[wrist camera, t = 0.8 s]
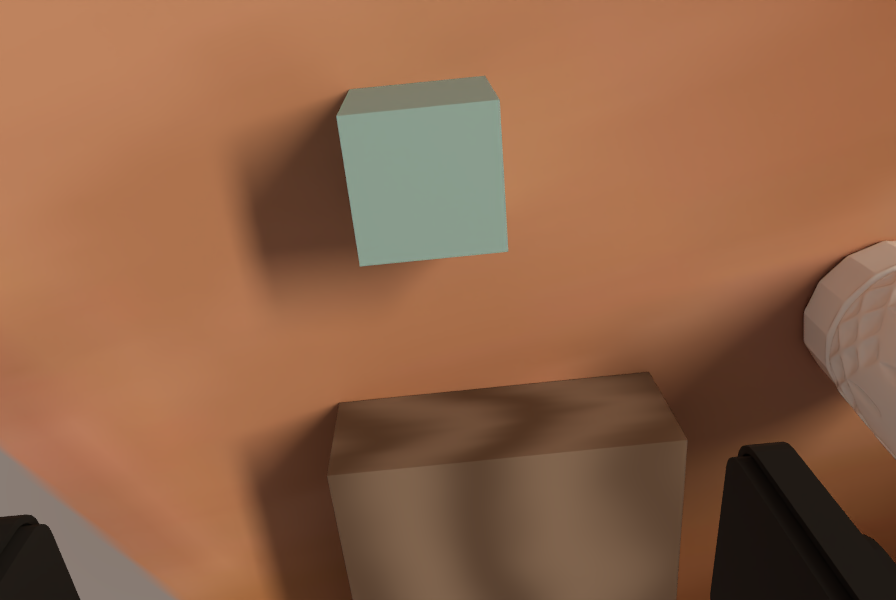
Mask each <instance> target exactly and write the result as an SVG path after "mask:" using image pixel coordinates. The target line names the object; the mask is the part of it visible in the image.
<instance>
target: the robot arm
mask: <svg viewBox="0 0 896 600" xmlns="http://www.w3.org/2000/svg"><path fill="white" fill-rule="evenodd" d="M0 600H80V598H79V596H78V593H77V591H76V589H75V586H74V584H73V581H72V579H71V577H70V574H69V572H68V570H67V567H66V565H65V563H64V560H63V558H62V555H61V553H60V551H59V548H58V546H57V544H56V541H55V539H54V536H53V534H52V532H51V530H50V528H49V527H48V526H47V525H45V524H39V523H38V521H37V519H36V518H34V517H33V516H32V515H18V516H7V517H0ZM710 600H896V564H895V563H894V561H893V560H892V559H891V558H890V556H889V555H888V554H887V553H886V551H885V550H884V549H883V548H882V547H881V546H880V545H879V544H878V543H877V542H876V541H875V540H874V539H872V538H870V537H868V536H866V535H864V534H861V532H860V531H859V530H858V529H857V527H856V526H855V525H854V524H853V522H852V521H851V520H850V519H849V517H848V516H847V515H846V514H845V512H844V511H843V510H842V509H841V507H840V506H839V505H838V504H837V502H836V501H835V500H834V499H833V497H832V496H831V495H830V494H829V492H828V491H827V490H826V489H825V487H824V486H823V485H822V484H821V482H820V481H819V480H818V479H817V477H816V476H815V475H814V474H813V472H812V471H811V470H810V469H809V467H808V466H807V465H806V464H805V462H804V461H803V460H802V458H801V457H800V456H799V455H798V453H797V452H796V451H795V450H794V448H793V447H791V446H790V445H789V444H788V443H786V442H775V443H765V444H754V445H745V446H742V447H741V449H740V450H739V453H738V457H732V458H729V460H728V462H727V466H726V474H725V482H724V490H723V498H722V505H721V513H720V521H719V529H718V537H717V545H716V553H715V561H714V569H713V577H712V585H711V593H710Z"/></svg>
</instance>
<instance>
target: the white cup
mask: <svg viewBox="0 0 896 600" xmlns="http://www.w3.org/2000/svg"><path fill="white" fill-rule="evenodd" d="M804 343H805V345H806V347H807V348H808V350H809V351H810V353H811V354H812V356H813V358H814V359H815V361H816V362H817V364H818V365H819V367H820V368H821V369H822V370H823V371H824V372H825V373H826V375H827V376H828V377H829V378H830V379H831V380H832V381H833V382H834V383H835V385H836V387H837V390H838V391H839V392H840V394H841V395H842V396H843V398H844V399H845V400H846V401H847V402H848V404H849V405H850V406H851V407H852V408H853V409H854V411H855V412H856V413H857V414H858V416H859V417H860V418H861V419H862V421H863V422H864V423H865V424H866V425H867V426H868V427H869V429H870V430H871V431H872V432H873V433H874V435H875V437H876V438H877V439H878V440H879V441H880V442H881V444H882V445H883V446H884V447H885V448H886V449H887V450H888V452H889V453H890V454H891V455H892V456H893V457H894V458H895V460H896V241H882V242H879V243H877V244H875V245H872V246H870V247H867V248H865V249H863V250H860V251H858V252H855V253H853V254H851V255H848V256H847V257H846V258H844V259H843V260H842V261H841V262H840V263H839V264H838V265H837V266H836V267H834V268H833V269H832V270H831V271H830V272H829V273H828V274H827V275H826V276H825V277H823V278H822V279H821V280H820V281H819V283H818V285H817V287H816V289H815V291H814V293H813V295H812V297H811V299H810V301H809V303H808V305H807V307H806V309H805V311H804Z"/></svg>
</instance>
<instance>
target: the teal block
mask: <svg viewBox="0 0 896 600" xmlns="http://www.w3.org/2000/svg"><path fill="white" fill-rule="evenodd" d="M336 117H337V124H338V130H339V137H340V143H341V149H342V156H343V162H344V168H345V175H346V181H347V188H348V194H349V200H350V207H351V213H352V219H353V226H354V232H355V238H356V245H357V251H358V258H359V264H360V266H369V265H379V264H389V263H399V262H409V261H419V260H429V259H439V258H449V257H459V256H469V255H479V254H489V253H499V252H508V239H507V222H506V204H505V187H504V169H503V151H502V134H501V116H500V100H499V98H498V96H497V95H496V93H495V91H494V90H493V88H492V87H491V85H490V83H489V82H488V80H487V78H486V77H485V76H479V77H469V78H459V79H449V80H439V81H429V82H419V83H409V84H399V85H389V86H379V87H369V88H359V89H349V91H348V93H347V95H346V97H345V99H344V101H343V103H342V106H341V108H340V110H339V112H338V114H337V116H336Z"/></svg>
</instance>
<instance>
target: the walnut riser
mask: <svg viewBox="0 0 896 600" xmlns="http://www.w3.org/2000/svg"><path fill="white" fill-rule="evenodd" d="M687 442H688V440H687V438H686V436H685V434H684V433H683V431H682V429H681V427H680V426H679V424H678V422H677V420H676V419H675V417H674V415H673V413H672V412H671V410H670V408H669V406H668V405H667V403H666V401H665V399H664V398H663V396H662V394H661V392H660V390H659V389H658V387H657V385H656V383H655V382H654V380H653V378H652V376H651V375H650V373H649V372H644V373H634V374H624V375H614V376H604V377H594V378H584V379H573V380H563V381H553V382H543V383H533V384H523V385H513V386H503V387H493V388H483V389H473V390H463V391H453V392H443V393H433V394H423V395H413V396H403V397H393V398H383V399H373V400H363V401H353V402H343V403H339V407H338V413H337V419H336V425H335V431H334V437H333V442H332V448H331V454H330V460H329V466H328V472H327V479H328V484H329V489H330V494H331V498H332V503H333V508H334V513H335V518H336V522H337V527H338V532H339V537H340V541H341V546H342V551H343V556H344V561H345V565H346V570H347V575H348V580H349V585H350V589H351V594H352V599H353V600H676V596H677V582H678V568H679V554H680V540H681V526H682V512H683V498H684V484H685V470H686V456H687Z"/></svg>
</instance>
